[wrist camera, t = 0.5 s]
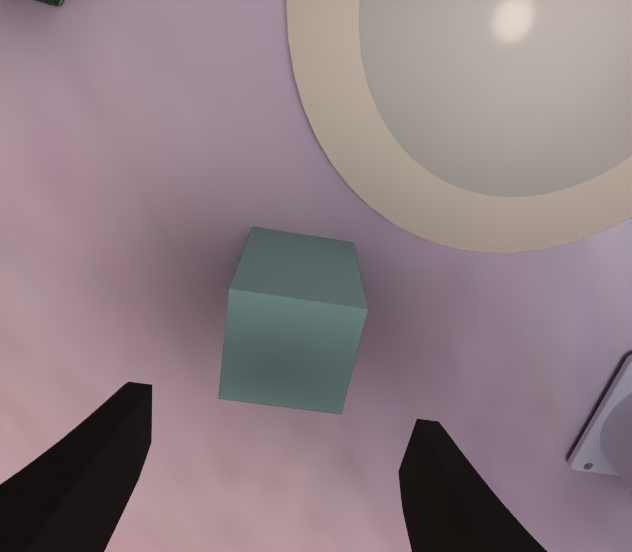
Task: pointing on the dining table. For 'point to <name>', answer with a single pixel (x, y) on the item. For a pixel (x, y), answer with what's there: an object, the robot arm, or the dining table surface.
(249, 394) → the teal block
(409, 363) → the dining table surface
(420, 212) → the serving plate
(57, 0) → the coffee box
